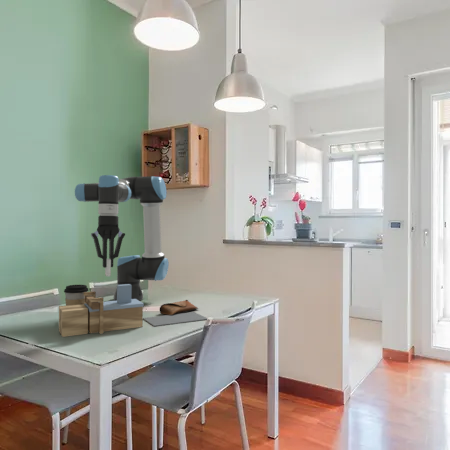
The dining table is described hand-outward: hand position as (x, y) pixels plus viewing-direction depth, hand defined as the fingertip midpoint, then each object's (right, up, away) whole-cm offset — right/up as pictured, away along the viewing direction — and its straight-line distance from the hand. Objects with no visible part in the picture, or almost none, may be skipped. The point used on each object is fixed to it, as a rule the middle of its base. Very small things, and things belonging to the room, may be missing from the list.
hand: (107, 275), depth 154 cm
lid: (+2, -12, +1) cm, 12 cm away
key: (-5, -11, -3) cm, 12 cm away
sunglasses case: (+25, -20, +28) cm, 43 cm away
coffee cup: (-15, -20, +7) cm, 26 cm away
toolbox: (-2, -20, -1) cm, 20 cm away
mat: (+25, -20, +14) cm, 35 cm away
